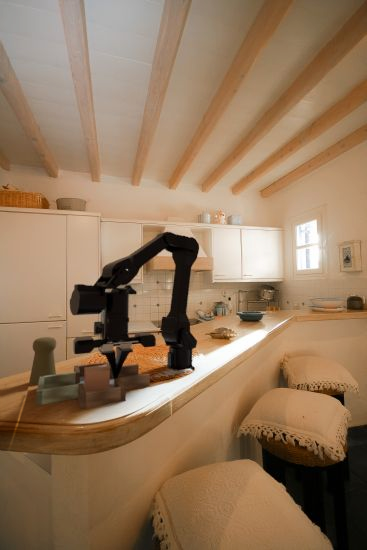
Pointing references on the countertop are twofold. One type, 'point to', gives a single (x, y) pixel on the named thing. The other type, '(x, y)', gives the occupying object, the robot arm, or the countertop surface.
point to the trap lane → (73, 388)
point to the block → (96, 378)
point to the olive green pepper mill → (43, 359)
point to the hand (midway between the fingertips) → (115, 378)
